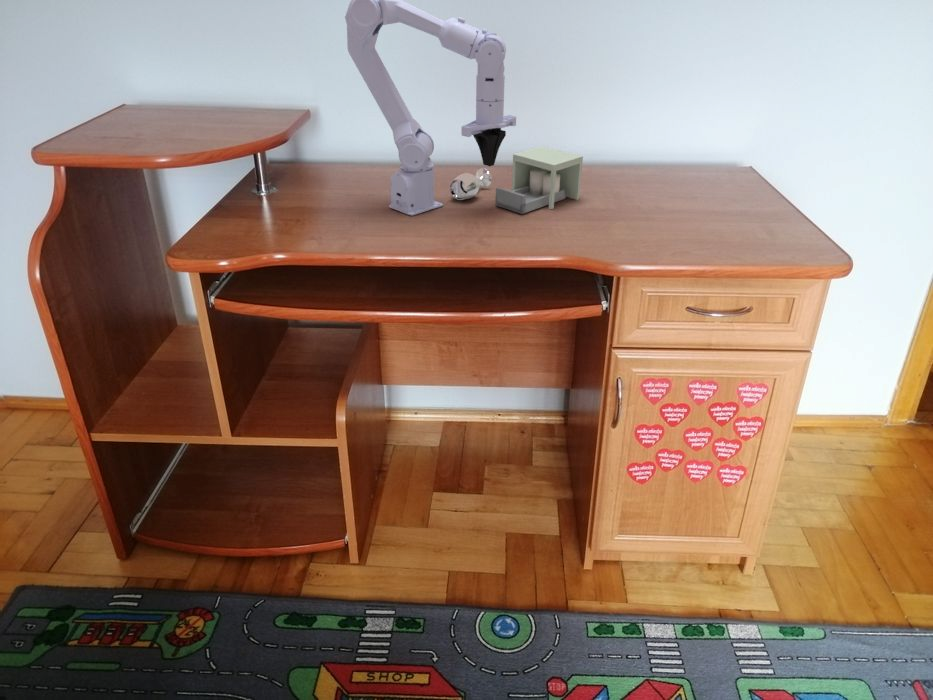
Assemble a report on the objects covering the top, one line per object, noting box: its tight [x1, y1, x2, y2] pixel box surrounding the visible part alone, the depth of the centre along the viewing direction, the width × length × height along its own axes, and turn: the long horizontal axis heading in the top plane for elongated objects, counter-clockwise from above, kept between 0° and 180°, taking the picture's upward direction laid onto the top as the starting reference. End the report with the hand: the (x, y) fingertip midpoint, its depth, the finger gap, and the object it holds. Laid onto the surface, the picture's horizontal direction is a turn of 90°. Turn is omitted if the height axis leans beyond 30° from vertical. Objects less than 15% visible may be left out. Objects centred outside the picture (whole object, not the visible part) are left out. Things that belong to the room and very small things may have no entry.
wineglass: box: [449, 167, 493, 201], centre depth 163 cm, size 6×6×12 cm
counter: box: [511, 145, 584, 210], centre depth 160 cm, size 10×12×10 cm
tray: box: [494, 169, 567, 215], centre depth 158 cm, size 15×8×6 cm, turn 134°
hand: (488, 164), depth 151 cm, fingers closed
